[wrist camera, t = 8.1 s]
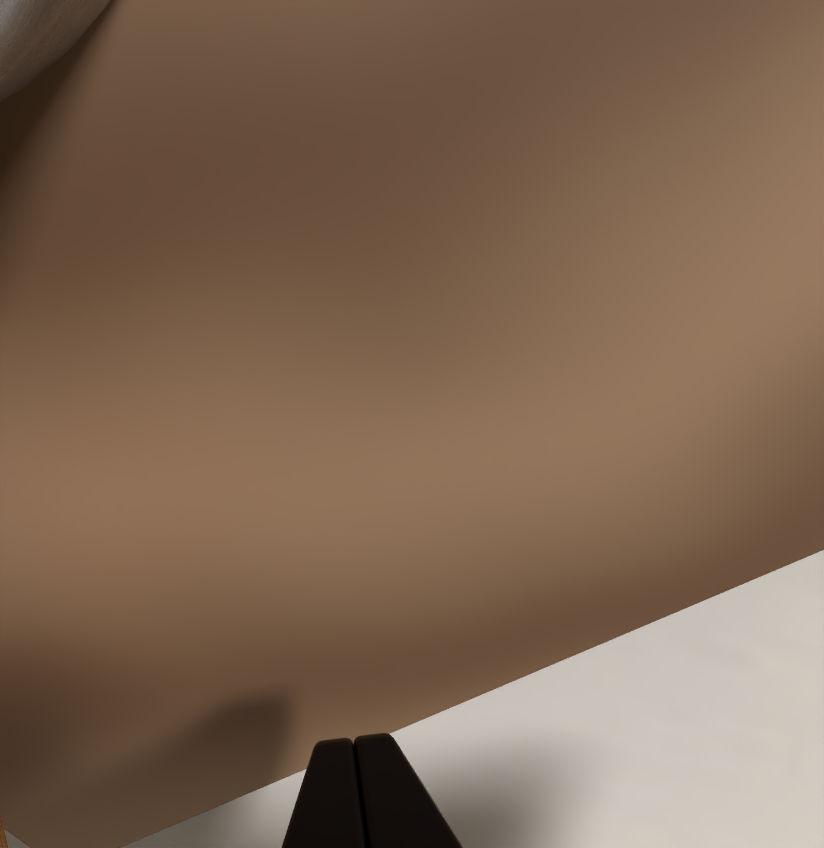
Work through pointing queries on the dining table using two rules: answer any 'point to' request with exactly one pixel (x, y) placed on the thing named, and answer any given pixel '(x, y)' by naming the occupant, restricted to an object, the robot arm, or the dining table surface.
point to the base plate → (384, 369)
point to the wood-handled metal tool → (38, 53)
